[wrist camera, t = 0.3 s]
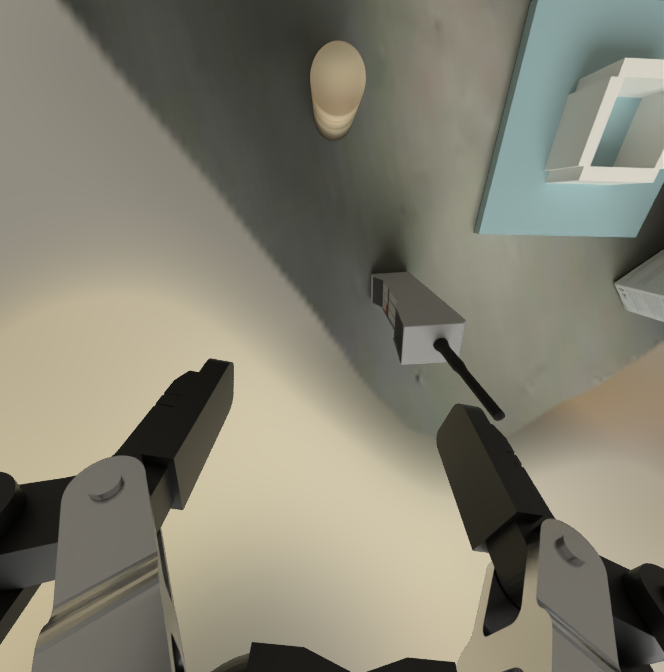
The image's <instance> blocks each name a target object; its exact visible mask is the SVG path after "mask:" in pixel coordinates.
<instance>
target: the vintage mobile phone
mask: <svg viewBox="0 0 664 672" xmlns="http://www.w3.org/2000/svg"><path fill="white" fill-rule="evenodd" d="M371 302H372V303H373V304H375V305H378V306H380V307H382V309H383V311H384V313H385V314H386V316H387V318H388V320H389V322H390V324H391V325H392V327H393V329H394V338H393V340H394V343H395V346H396V350H397V353H398V356H399V360H400V363H401V365H406V364H421V363H437V362H448V363H449V365H450V366H451V367H452V369H453V370H454V371H455V372H457V373H458V374H459V375H460V376H461V377H462V379H463V380H464V381H465V383H466V384H467V385H468V386H469V388H470V389H471V390H472V392H473V393H474V394H475V395H476V397H477V398H478V399H479V401H480V402H481V403H482V404H483V406H484V407H485V408H486V410H487V411H488V412H489V413H490V415H491V416H492V417H493V418H494V420H496V421H500V420H502V419H503V418H504V417H505V414H504V412H503V411H502V410H501V409H500V408H499V407H498V405H497V404H496V403H495V402H494V401H493V399H492V398H491V397H490V396H489V395H488V394H487V392H486V391H485V390H484V389H483V388H482V387H481V385H480V384H479V383H478V382H477V381H476V379H475V378H474V377H473V376H472V375H471V374H470V372H469V371H468V370H467V368H466V366H465V364H464V363H463V361H462V360H461V359H460V358H459V354H460V349H461V344H462V338H463V333H464V327H465V322H466V320H465V319H464V318H463V317H461V316H460V315H459V314H458V313H457V312H455V311H454V310H453V309H452V308H451V307H450V306H448V305H447V304H446V303H445V302H444V301H442V300H441V299H440V298H439V297H438V296H436V295H435V294H434V293H433V292H432V291H431V290H429V289H428V288H427V287H426V286H425V285H423V284H422V283H421V282H420V281H419V280H417V279H416V278H415V277H414V276H413V275H412V274H410V273H409V272H395V273H380V274H371Z"/></svg>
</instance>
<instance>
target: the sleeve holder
mask: <svg viewBox="0 0 664 672" xmlns="http://www.w3.org/2000/svg"><path fill="white" fill-rule="evenodd" d="M663 182H664V0H532V1H531V2H530V6H529V10H528V14H527V19H526V23H525V27H524V31H523V35H522V39H521V43H520V47H519V51H518V55H517V59H516V63H515V67H514V71H513V76H512V80H511V84H510V88H509V92H508V96H507V100H506V104H505V108H504V112H503V116H502V120H501V124H500V129H499V133H498V137H497V141H496V145H495V149H494V153H493V157H492V161H491V165H490V169H489V173H488V177H487V181H486V186H485V190H484V194H483V198H482V202H481V206H480V210H479V214H478V218H477V222H476V226H475V230H474V233H477V234H507V235H552V236H597V237H636V236H637V234H638V232H639V230H640V228H641V226H642V224H643V222H644V220H645V218H646V216H647V214H648V212H649V210H650V208H651V206H652V204H653V202H654V200H655V198H656V196H657V194H658V192H659V190H660V188H661V186H662V184H663Z"/></svg>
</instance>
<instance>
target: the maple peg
mask: <svg viewBox="0 0 664 672" xmlns="http://www.w3.org/2000/svg"><path fill="white" fill-rule="evenodd" d="M310 83H311V92H312V101H313V111H314V120H315V125H316V128H317V130H318V132H319V133H320V134H321V135H322V136H323V137H324V138H325V139H328V140H331V141H336V140H339V139H341V138H343V137H344V136H345V135H346V134H347V133H348V131H349V129H350V127H351V125H352V122H353V119H354V117H355V114H356V111H357V108H358V106H359V103H360V100H361V98H362V95H363V92H364V89H365V83H366V72H365V66H364V63H363V60H362V58H361V56H360V54H359V53H358V51H357V50H356V49H355V48H354V47H353V46H352V45H350V44H349V43H347V42H344V41H332V42H329V43H327V44H326V45H324V46H323V47H322V48H321V49H320V50H319V51H318V53H317V54H316V56H315V58H314V60H313V63H312V67H311V72H310Z"/></svg>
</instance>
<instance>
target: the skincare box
mask: <svg viewBox="0 0 664 672" xmlns="http://www.w3.org/2000/svg"><path fill="white" fill-rule="evenodd" d="M614 285H615V287H616V289H617V291H618V293H619V295H620V298H621V300H622V303H623V305H624V307H625V309H627V310H628V311H631V312H634V313H637V314H640V315H643V316H646V317H650V318H653V319H656V320H659V321H663V322H664V249H663V250H661V251H660V252H659V253H657V254H656V255H654V256H653V257H651V258H650V259H648V260H647V261H645V262H644V263H643V264H641V265H640V266H638V267H637V268H635V269H634V270H632V271H631V272H629V273H628V274H627V275H625V276H624V277H622V278H621V279H619V280H618V281H616V282H615V283H614Z"/></svg>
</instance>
